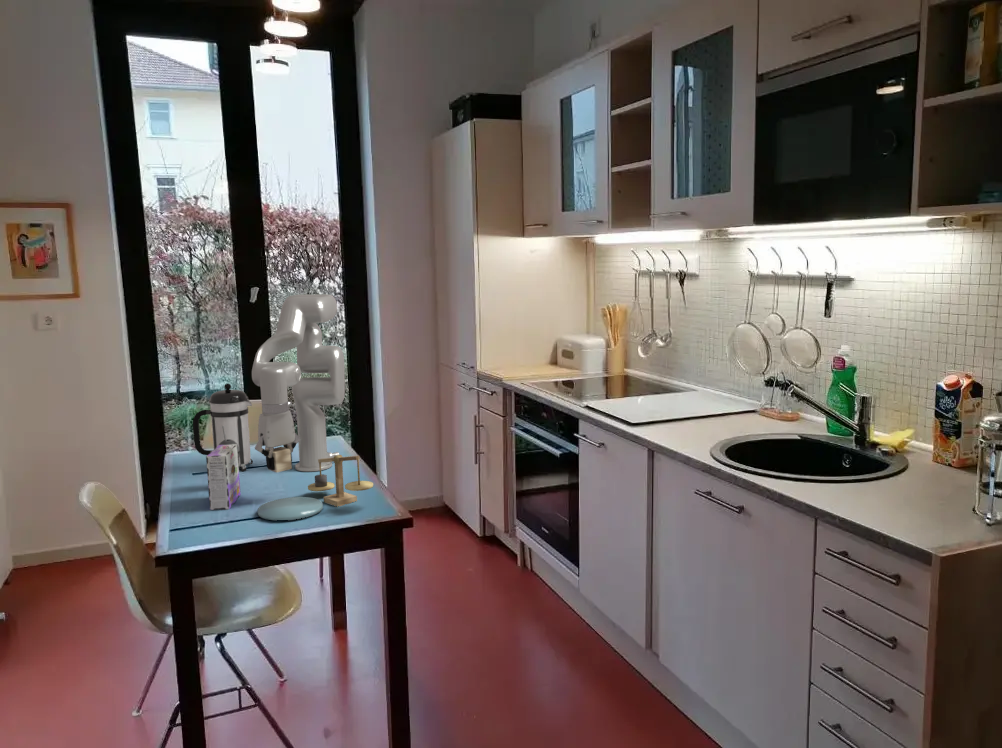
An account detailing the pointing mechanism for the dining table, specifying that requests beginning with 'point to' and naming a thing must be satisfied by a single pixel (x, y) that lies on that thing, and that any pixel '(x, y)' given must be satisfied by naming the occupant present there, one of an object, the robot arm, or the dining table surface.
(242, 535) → the dining table surface
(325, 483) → the balance
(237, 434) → the coffee press
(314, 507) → the dish
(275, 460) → the block
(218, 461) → the candy box
